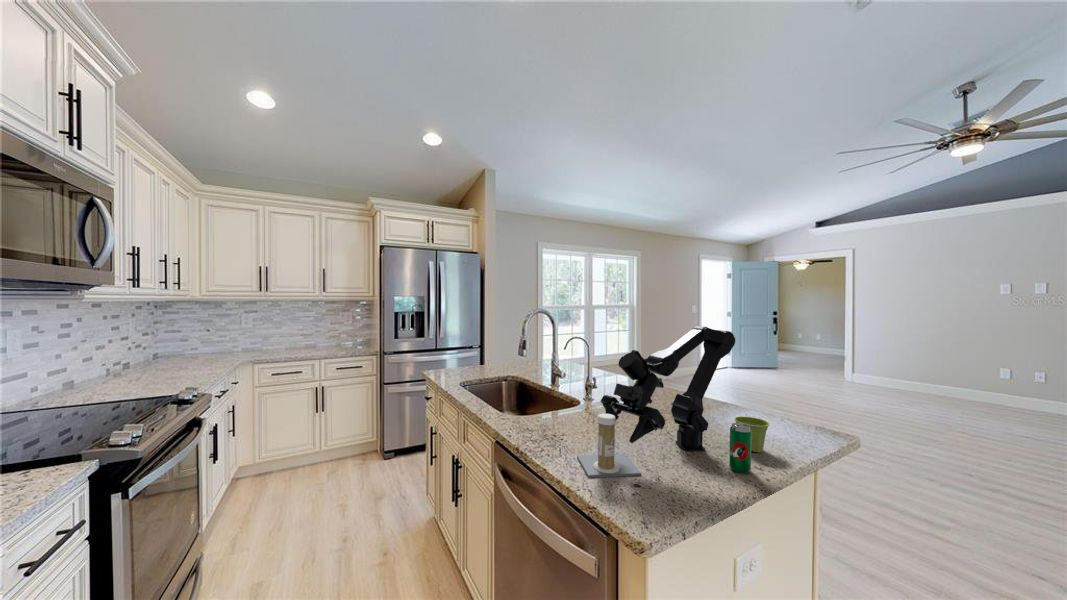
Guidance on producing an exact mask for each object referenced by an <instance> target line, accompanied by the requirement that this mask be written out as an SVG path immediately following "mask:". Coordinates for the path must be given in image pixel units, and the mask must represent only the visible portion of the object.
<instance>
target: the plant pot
mask: <svg viewBox="0 0 1067 600" xmlns="http://www.w3.org/2000/svg"><path fill="white" fill-rule="evenodd" d="M733 420H734V422H735V423H742V424H746V425H748V426H750V429H751V431H752V434H751V452H753V453H755V452H757V453H758V452H759V453H762V452H764V446H765V441H766V436H767V435H766V434H767V430H768V428H769V427H770V422H768V421H766V420H764V419H761V418H758V417H752V416H736V417H734V418H733Z"/></svg>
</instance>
